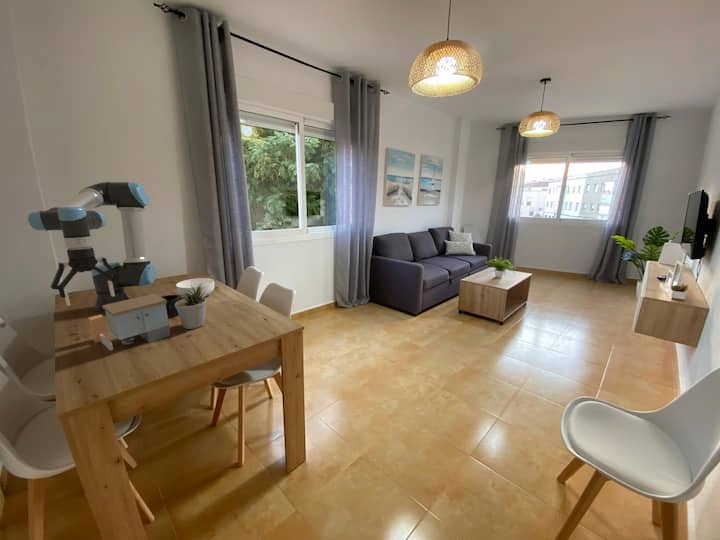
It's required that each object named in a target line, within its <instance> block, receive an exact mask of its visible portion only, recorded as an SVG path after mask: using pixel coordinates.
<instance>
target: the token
mask: <svg viewBox="0 0 720 540" xmlns="http://www.w3.org/2000/svg"><path fill="white" fill-rule="evenodd" d="M120 341H121V343H120V344H121V345H122V346H129V345H132V344H134V343H135V342H136V339H135V338H134V337H128V338H125V339H122V340H120Z"/></svg>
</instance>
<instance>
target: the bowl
mask: <svg viewBox="0 0 720 540" xmlns="http://www.w3.org/2000/svg"><path fill="white" fill-rule="evenodd" d="M199 284H200V285H201V289H202V291H201V290H200V291H201V295H202V292H203V293H204V295H203V296H202V297H201V298H204V297H205V296H206V295H207V296H209V295H210V294H211V293H213V290H214V289H215V281H214V279H212V278H208V277H206V278H205V277H200V278H199V277H197V278H190V279H189V278H188V279H185V280H181V281H179V282H177V283H176V284H175V289H176V292H177V293H176V294H177V295H178V294H184V293H186V292H187V293H189V294H190V295H192V294H191V293H190V292H192V293H193V294H194V290H195V292H196V291H197V286H199ZM190 285H191V286H192V287H193V288H194V290H193V289H192V287H191V286H190ZM202 287H203V288H202ZM182 289H183V290H182ZM184 289H185V291H186V290H188V291H186V292H185V291H184ZM189 291H190V292H189ZM181 292H183V293H181ZM201 295H200V296H201ZM184 296H185V295H183V296H182V295H180V297H183V298H185V297H184ZM207 296H206V297H207ZM186 297H187V296H186ZM206 297H205V298H206ZM185 299H186V298H185Z"/></svg>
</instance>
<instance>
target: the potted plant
mask: <svg viewBox="0 0 720 540" xmlns="http://www.w3.org/2000/svg"><path fill="white" fill-rule="evenodd" d="M190 286H191V285H190ZM191 287H192V286H191ZM202 288H203V287H202ZM192 289H193V290H194V288H193V287H192ZM182 290H183V289H182ZM200 290H201V291H202V289H201V285H200V284H199V286H197V291H196V292H195V290H194V294H193V293H192V292H190V291H189V292H190V293H191V294H192V295H190V294H189V293H187V292H186V291H188V290H186V291H185V289H184V291H185V292H186V293H184V294H178V293H177V296H179V298H181V300H180V299H179V301H178V302H176V303H175V307H176V309H177V311H178V314H179V315H178V317H179V320H180V323H181V325H182V327H183V328H184V329H187V330H194V329H198V328H201V327H203V326H204V325H205V323H206V309H207V306H206V305H207V299H206V297H207V296H208V295H206V296H205V297H202V296H203V295H204V293H203V292H202V295H201V291H200ZM181 293H183V292H181ZM181 295H182V296H183V295H185V296H184V297H185V298H184V297H182V296H181ZM200 295H201V296H200ZM186 296H187V297H186ZM201 297H202V298H201Z"/></svg>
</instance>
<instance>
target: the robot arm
mask: <svg viewBox="0 0 720 540" xmlns="http://www.w3.org/2000/svg"><path fill="white" fill-rule="evenodd" d="M148 205H149V196H148V193H147V190H146V189H145V187H144V186H143V185H142V184H140V183H139V182H131V181H129V182H127V181H126V182H125V181H123V182H122V181H121V182H120V181H119V182H117V181H116V182H115V181H113V182H111V181H104V182H98V183H95V184H92V185H89V186H87V187H84V188H82V189H80V191H78V194H76V195H74V196H72V197H71V198H68V199H66V200H65V201H62V202H61V203H59V204H56V205H55V206H53V207H51V208H49V209H47V210H34V211H31V212H29V214H28V216H27V222H28V223H29V226H30V227H31V228H32V229H33V230H36V231H46V232H48V231H62V232H61V233H62V236H63V241H64V245H65V249H66V253H67V258H68V261H67V262H58V263H57V271H56V273H55V275H54V277H53V280H52V282H51V285H50V288H51V289H53V290H58V292H59V297H60V298H62V299H64V300H65V304H66V306H68V307H69V306H71V300H70V297H69V292H68V290H67V288H66V286H67V285H68V284H69V283H70V281H71V280H72V279H73V278H74V276H75V275H76V274H77V273H84V272H91V278H92V282H93V285H94V291H95V294H96V296H95V300H94V310H95V311H96V312H103V313H104V312H106V311H105V310H104V309H103V307H102V305H106V304H111V303H115V302H120V301H124V300H129V299H131V298H130V296H129V295H128V293H127V292H126V290H125V288H133V287H145V286H151V285H152V284H153V283H154V281H155V279H156V274H157V268H156V266H155V264H153V263H151V259H149V258H148V257H147V252H146V243H145V233H144V232H145V231H144V224H143V215H142V213H143V212H144V210H145V207H147V206H148ZM102 206H103V207H105V206H115V207H116V210H118V211H119V212H120V216H121V217H120V218H121V226H122V234H123V243H124V244H123V245H124V251H125V252H124V253H125V259H124V260H123V261H122V265H121V263H120V262H119V261H117V262H116V261H115V262H114V261H113V262H108V259H107V258H105V257H100V258H96V254H95V251H94V247H93V242H92V237H91V233H90V232H91V231H92V230H98V229H101V228H103V227H105V225H106V223H107V218H106V216H105V215H104V214H103V212H101V211H98V210H92V209H97V208H100V207H102ZM98 263H100V264H99V265H97V264H98ZM67 267H70V268H71V269H70V271H69V272H68V274H67V275H66V276H65V277H64V278H63V280H62V281H61V282H60V280H61V278H62V275H63V274H64V271H65V269H67ZM59 283H60V284H59Z"/></svg>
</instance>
